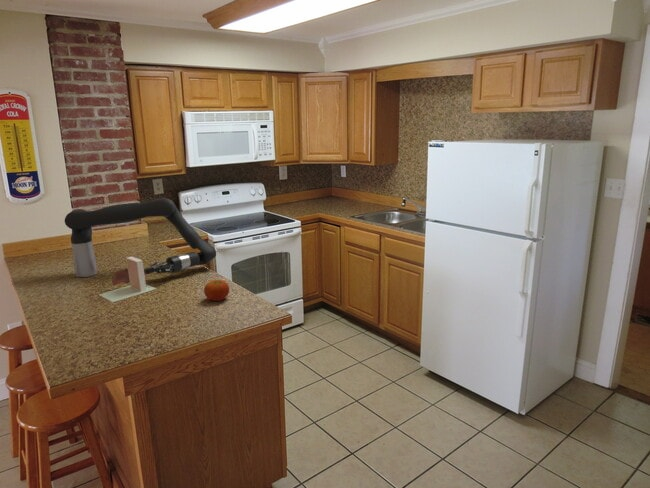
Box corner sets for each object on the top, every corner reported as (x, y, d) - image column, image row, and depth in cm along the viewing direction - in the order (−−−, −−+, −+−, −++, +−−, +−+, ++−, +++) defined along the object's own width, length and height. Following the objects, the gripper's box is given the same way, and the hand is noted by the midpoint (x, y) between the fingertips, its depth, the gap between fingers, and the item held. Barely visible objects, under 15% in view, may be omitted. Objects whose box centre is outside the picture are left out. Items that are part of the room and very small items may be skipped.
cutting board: (141, 283, 219) (141, 282, 219) (156, 289, 210) (156, 288, 210) (98, 295, 205) (98, 294, 205) (112, 303, 196) (112, 302, 196)
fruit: (203, 296, 200) (201, 279, 198) (227, 293, 204) (226, 275, 201) (206, 305, 190) (204, 287, 188) (232, 301, 194) (230, 283, 192)
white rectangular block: (135, 285, 215) (131, 256, 211) (146, 289, 208) (142, 260, 205) (130, 286, 213) (126, 257, 209) (141, 291, 207) (136, 261, 203)
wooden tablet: (135, 284, 219) (134, 281, 219) (112, 288, 216) (111, 284, 215) (135, 268, 243) (134, 265, 243) (114, 271, 240) (114, 268, 239)
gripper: (170, 253, 228) (136, 261, 215) (185, 257, 219) (151, 266, 207) (172, 267, 230) (138, 276, 217) (186, 272, 221) (153, 282, 209)
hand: (145, 271), depth 212 cm, fingers closed
